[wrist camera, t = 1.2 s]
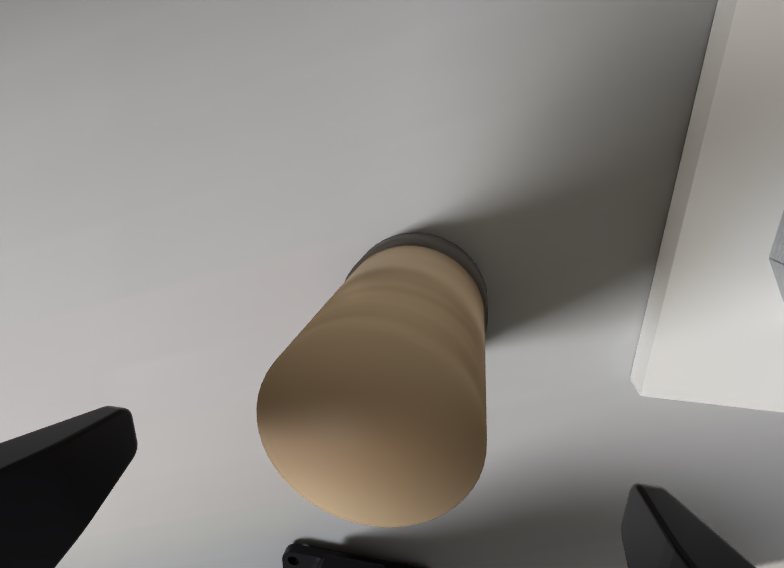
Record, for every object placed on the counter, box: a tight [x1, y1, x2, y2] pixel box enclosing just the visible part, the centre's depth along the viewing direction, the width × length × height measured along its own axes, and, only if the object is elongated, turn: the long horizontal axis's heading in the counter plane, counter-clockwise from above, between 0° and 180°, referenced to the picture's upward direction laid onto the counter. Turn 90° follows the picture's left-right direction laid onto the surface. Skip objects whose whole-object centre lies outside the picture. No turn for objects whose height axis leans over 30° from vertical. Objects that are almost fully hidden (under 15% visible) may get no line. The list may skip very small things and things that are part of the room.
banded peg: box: [257, 233, 488, 527], centre depth 12 cm, size 5×5×7 cm
